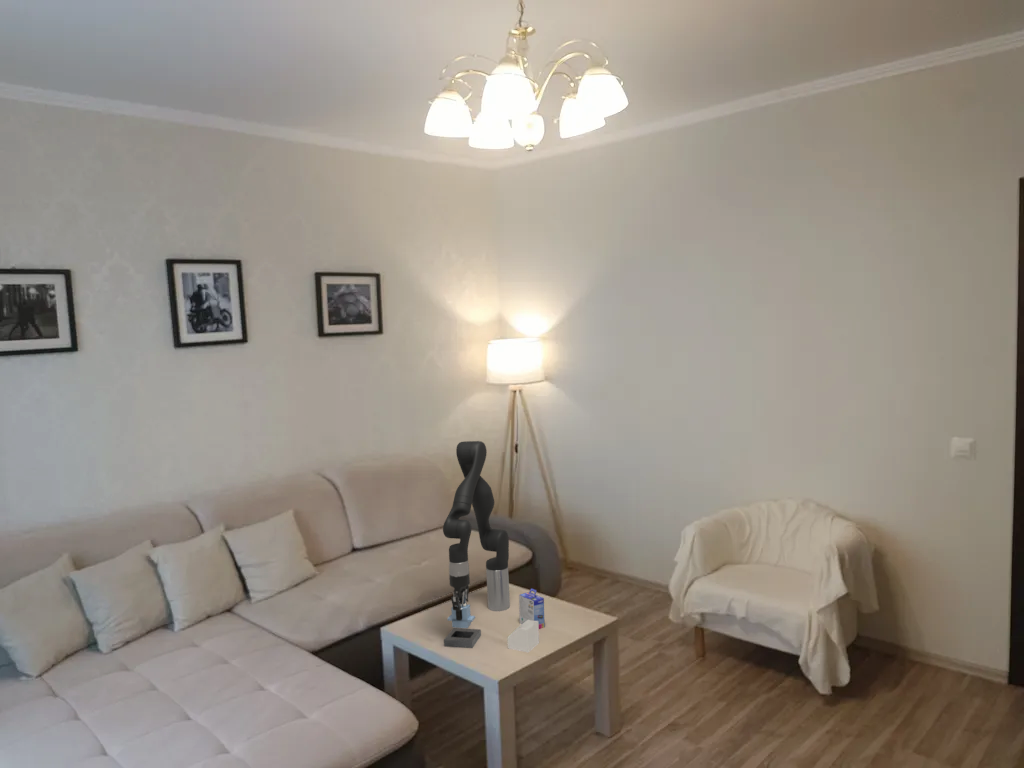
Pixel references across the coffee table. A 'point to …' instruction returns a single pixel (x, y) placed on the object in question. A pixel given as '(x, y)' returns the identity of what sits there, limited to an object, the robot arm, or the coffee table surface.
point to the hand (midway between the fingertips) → (461, 617)
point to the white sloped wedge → (524, 637)
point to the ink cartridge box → (531, 608)
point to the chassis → (466, 642)
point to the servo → (465, 617)
